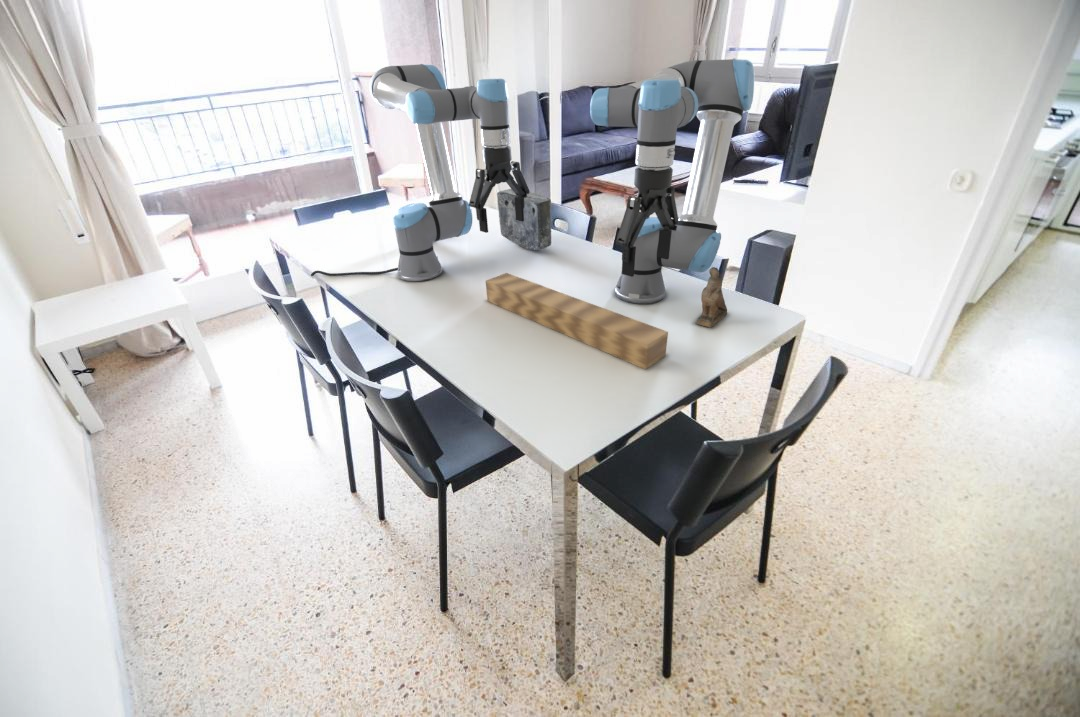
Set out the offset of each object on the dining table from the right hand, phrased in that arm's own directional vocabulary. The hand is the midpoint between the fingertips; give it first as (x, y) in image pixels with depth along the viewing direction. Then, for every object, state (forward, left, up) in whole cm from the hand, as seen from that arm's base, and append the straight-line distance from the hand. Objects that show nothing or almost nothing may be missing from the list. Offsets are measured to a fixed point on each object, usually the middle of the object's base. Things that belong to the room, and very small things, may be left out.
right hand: (645, 266), depth 112 cm
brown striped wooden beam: (-3, -24, -24) cm, 34 cm away
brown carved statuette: (-30, +6, -24) cm, 38 cm away
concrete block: (-48, -77, -24) cm, 93 cm away
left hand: (-5, -49, 0) cm, 49 cm away
